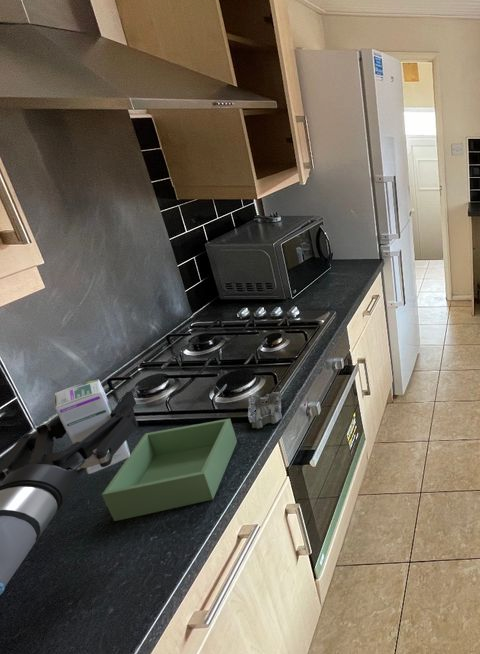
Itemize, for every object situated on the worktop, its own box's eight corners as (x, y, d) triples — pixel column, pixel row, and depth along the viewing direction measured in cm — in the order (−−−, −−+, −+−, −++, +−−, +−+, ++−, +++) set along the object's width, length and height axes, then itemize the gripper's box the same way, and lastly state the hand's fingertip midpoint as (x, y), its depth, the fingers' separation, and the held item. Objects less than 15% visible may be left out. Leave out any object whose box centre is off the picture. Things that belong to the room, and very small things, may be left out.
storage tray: (114, 521, 80) (101, 494, 78) (154, 457, 95) (145, 433, 92) (213, 499, 85) (204, 473, 82) (237, 441, 99) (230, 418, 97)
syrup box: (131, 456, 75) (104, 390, 70) (86, 476, 71) (53, 407, 66) (126, 441, 79) (100, 376, 74) (83, 458, 75) (52, 392, 70)
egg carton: (251, 406, 111) (248, 394, 110) (283, 398, 114) (280, 386, 113) (249, 432, 102) (245, 418, 101) (283, 422, 106) (280, 409, 104)
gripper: (-68, 551, 54) (40, 433, 74) (124, 502, 61) (176, 406, 81) (-99, 509, 52) (23, 398, 71) (106, 463, 58) (165, 373, 78)
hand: (104, 402), depth 76 cm, fingers closed on syrup box, 7 cm apart
